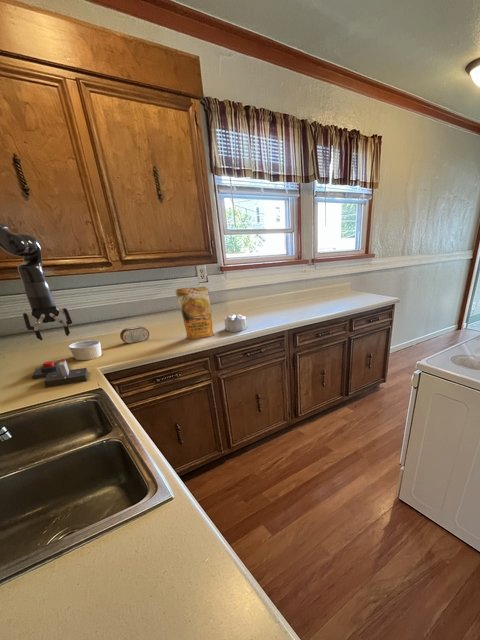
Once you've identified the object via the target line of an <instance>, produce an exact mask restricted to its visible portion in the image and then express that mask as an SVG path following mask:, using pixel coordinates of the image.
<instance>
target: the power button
mask: <svg viewBox="0 0 480 640" xmlns="http://www.w3.org/2000/svg"><path fill="white" fill-rule="evenodd" d="M54 363H55V362H54V361H52V360H49V361H45V362H43V364H42V365H44V367H46V368H47V367H52V366H54Z"/></svg>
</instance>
